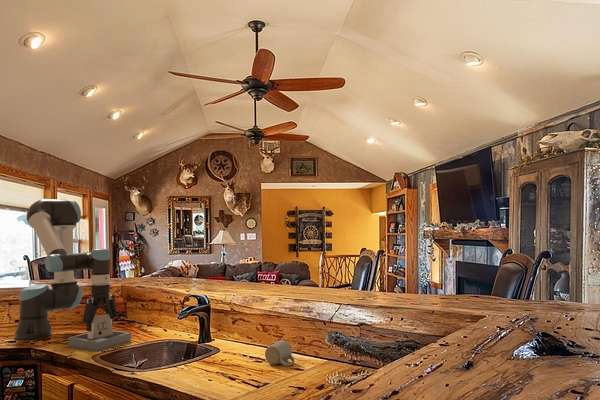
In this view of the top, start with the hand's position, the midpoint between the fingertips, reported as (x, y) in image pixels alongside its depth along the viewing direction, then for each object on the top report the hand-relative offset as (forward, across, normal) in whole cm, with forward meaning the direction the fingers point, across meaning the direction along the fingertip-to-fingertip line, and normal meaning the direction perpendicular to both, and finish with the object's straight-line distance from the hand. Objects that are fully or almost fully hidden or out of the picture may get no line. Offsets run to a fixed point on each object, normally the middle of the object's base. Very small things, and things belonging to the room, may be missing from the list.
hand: (100, 335), depth 205 cm
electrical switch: (+1, 0, 0) cm, 1 cm away
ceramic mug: (+4, +9, -85) cm, 85 cm away
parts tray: (+4, 0, 0) cm, 4 cm away
